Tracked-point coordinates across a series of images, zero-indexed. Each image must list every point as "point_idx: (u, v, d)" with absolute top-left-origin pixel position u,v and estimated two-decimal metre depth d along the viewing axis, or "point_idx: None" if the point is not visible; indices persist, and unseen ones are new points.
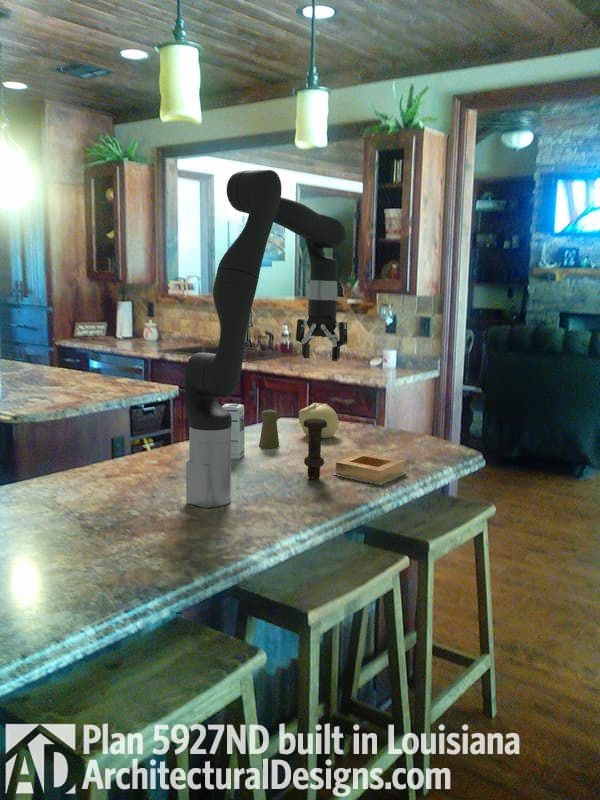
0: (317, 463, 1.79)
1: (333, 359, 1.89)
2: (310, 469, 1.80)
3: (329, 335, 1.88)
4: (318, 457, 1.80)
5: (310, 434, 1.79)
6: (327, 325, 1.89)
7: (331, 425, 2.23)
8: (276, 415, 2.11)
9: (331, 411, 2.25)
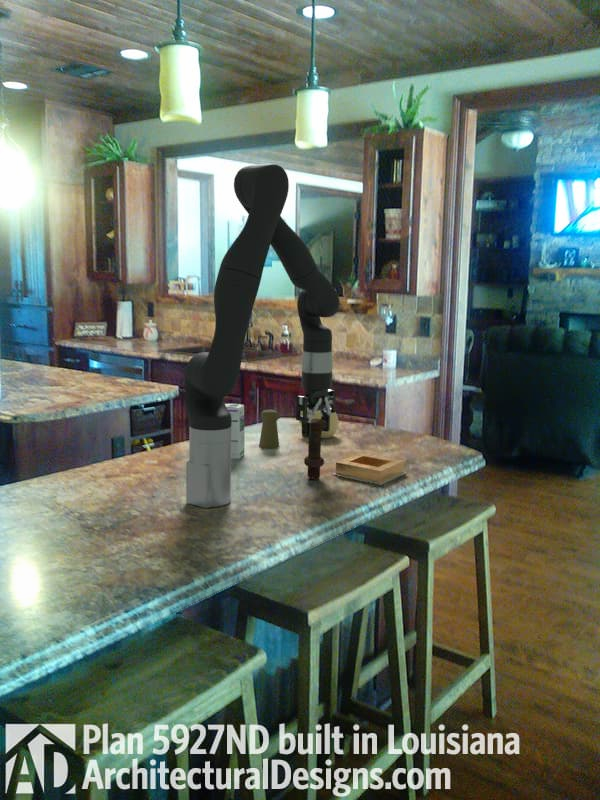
0: (317, 463, 1.79)
1: (328, 429, 1.83)
2: (310, 469, 1.80)
3: (329, 406, 1.80)
4: (318, 457, 1.80)
5: None
6: None
7: (331, 425, 2.23)
8: (276, 415, 2.11)
9: None
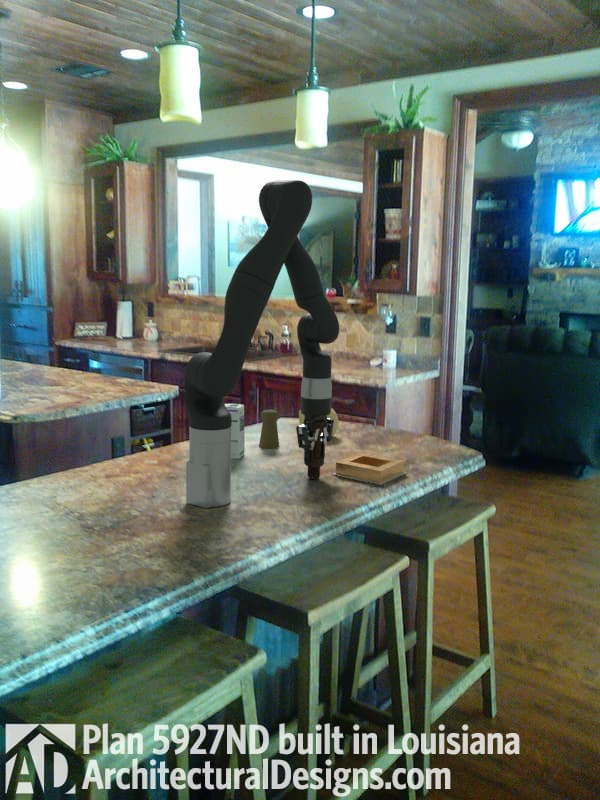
0: (317, 463, 1.79)
1: (323, 458, 1.83)
2: (310, 469, 1.80)
3: (326, 433, 1.81)
4: (318, 457, 1.80)
5: None
6: None
7: None
8: (276, 415, 2.11)
9: (331, 411, 2.25)
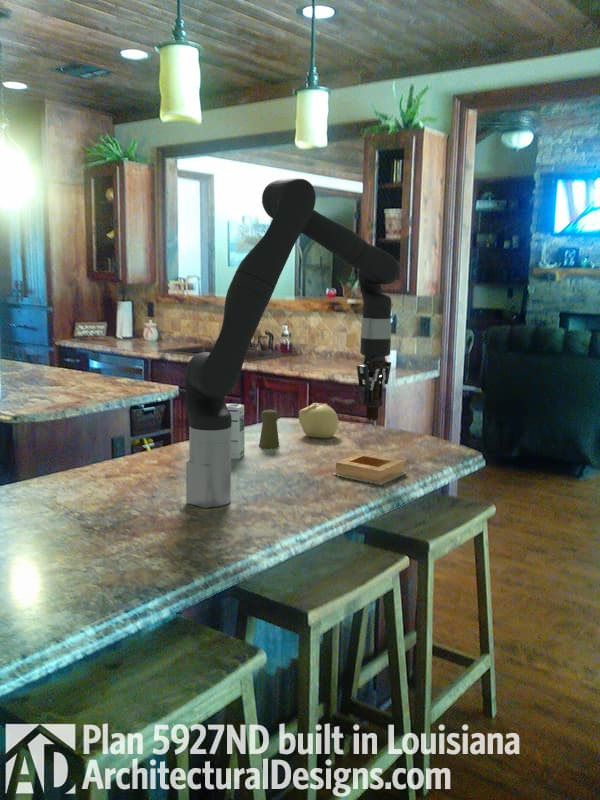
0: (376, 403, 1.82)
1: None
2: (369, 410, 1.83)
3: (384, 375, 1.84)
4: (377, 398, 1.83)
5: None
6: None
7: (331, 425, 2.23)
8: (276, 415, 2.11)
9: (331, 411, 2.25)
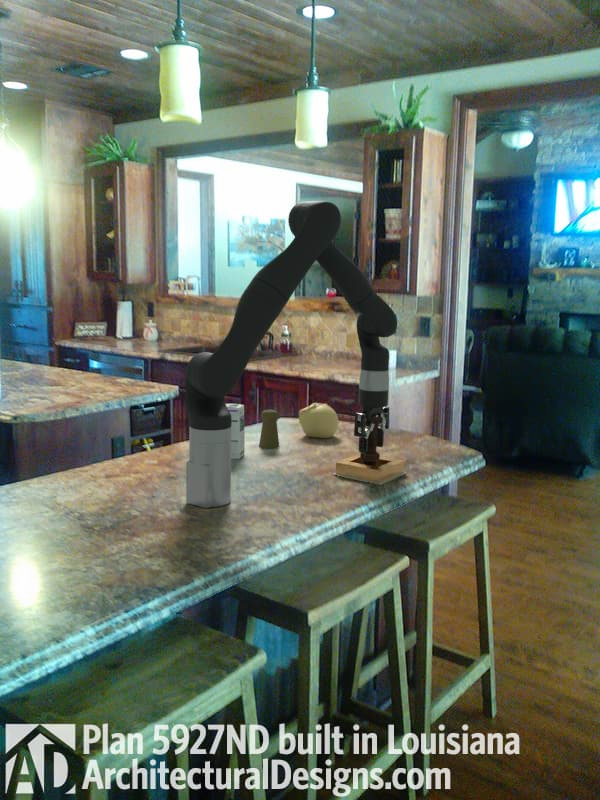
0: (373, 457, 1.84)
1: (382, 445, 1.89)
2: (366, 463, 1.85)
3: (384, 423, 1.87)
4: (374, 452, 1.85)
5: None
6: None
7: (331, 425, 2.23)
8: (276, 415, 2.11)
9: (331, 411, 2.25)
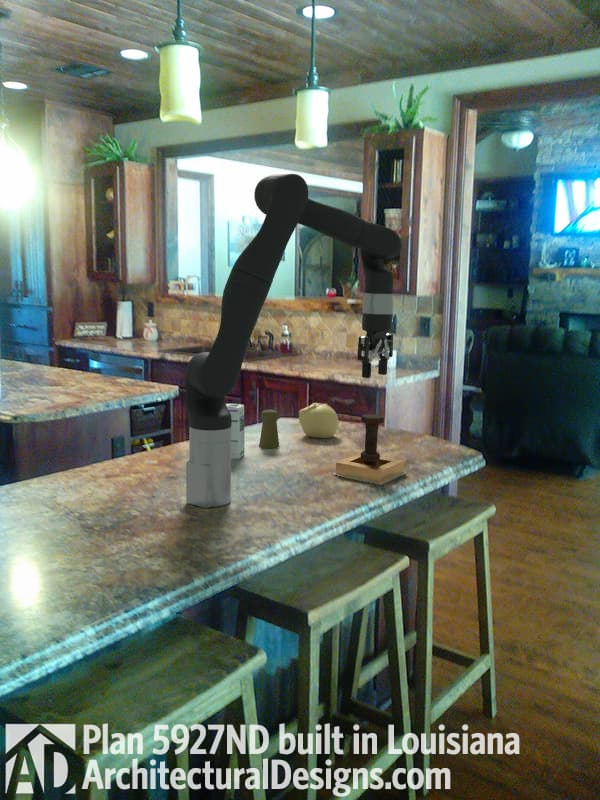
0: (374, 457, 1.84)
1: (386, 373, 1.86)
2: (366, 463, 1.85)
3: (387, 349, 1.83)
4: (374, 452, 1.85)
5: (367, 429, 1.84)
6: None
7: (331, 425, 2.23)
8: (276, 415, 2.11)
9: (331, 411, 2.25)
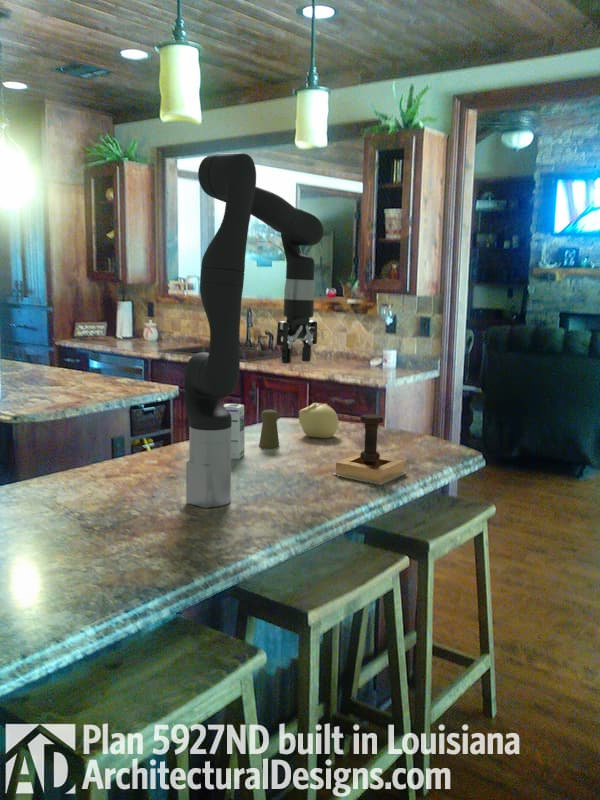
0: (373, 457, 1.84)
1: (309, 359, 1.87)
2: (366, 463, 1.85)
3: (310, 336, 1.84)
4: (374, 451, 1.85)
5: (367, 429, 1.84)
6: None
7: (331, 425, 2.23)
8: (276, 415, 2.11)
9: (331, 411, 2.25)
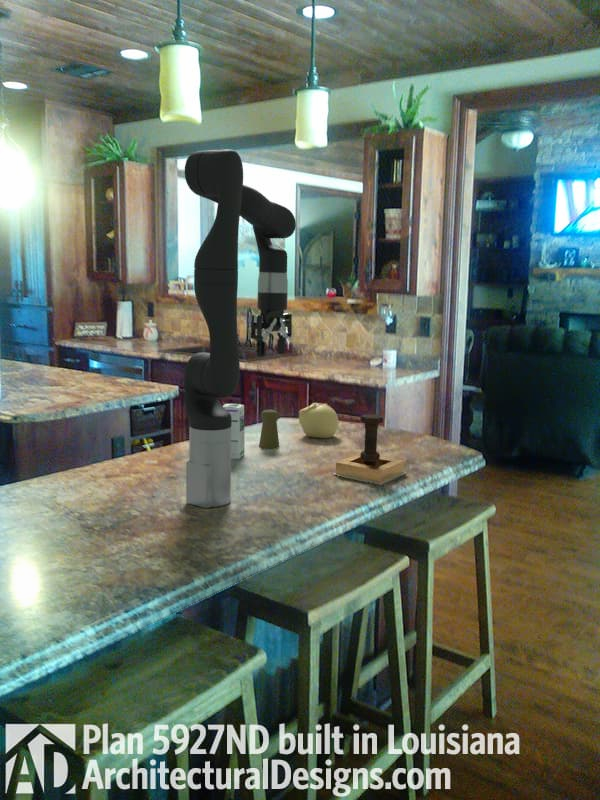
0: (373, 457, 1.84)
1: (284, 352, 1.87)
2: (366, 463, 1.85)
3: (284, 328, 1.85)
4: (374, 452, 1.85)
5: (367, 429, 1.84)
6: None
7: (331, 425, 2.23)
8: (276, 415, 2.11)
9: (331, 411, 2.25)
